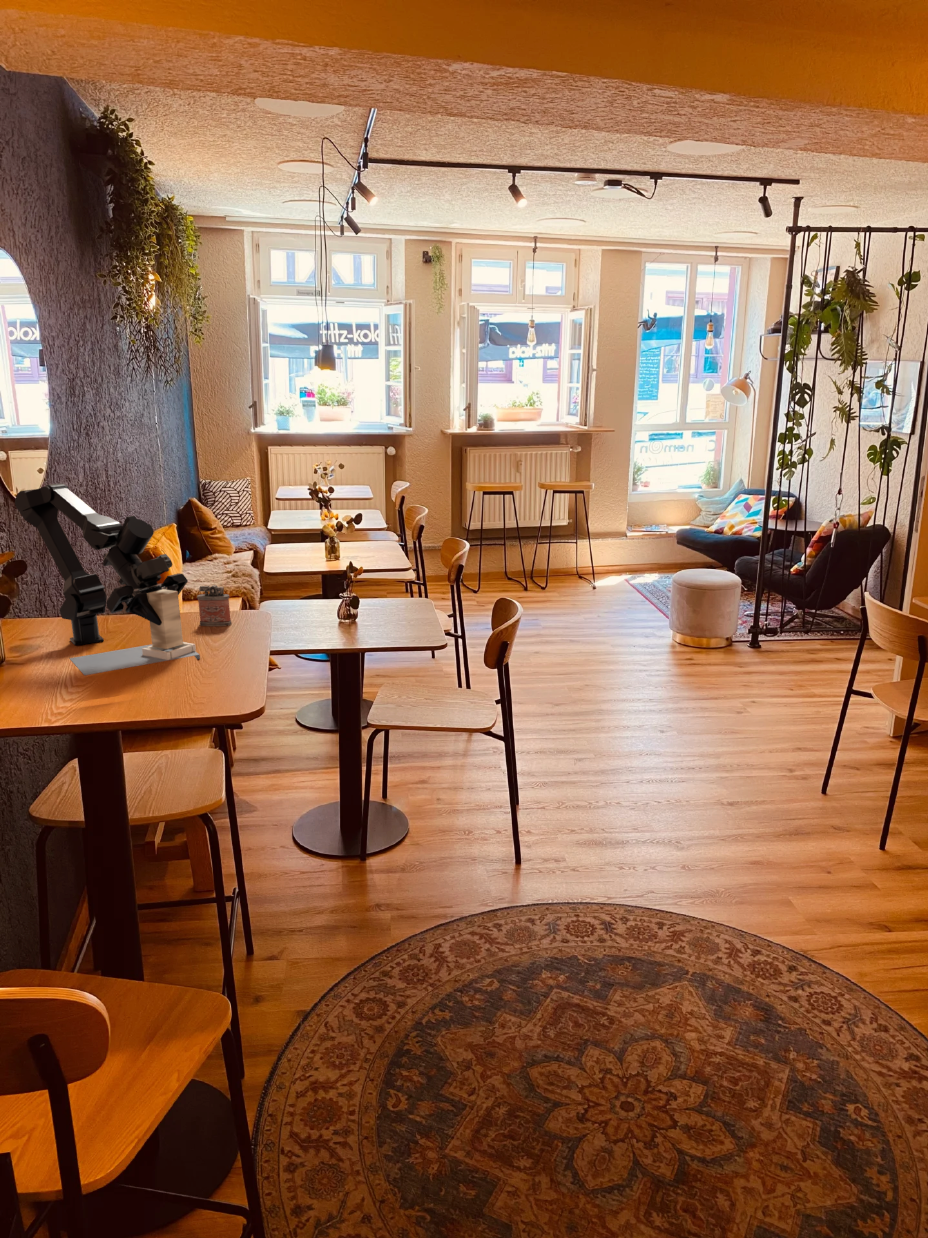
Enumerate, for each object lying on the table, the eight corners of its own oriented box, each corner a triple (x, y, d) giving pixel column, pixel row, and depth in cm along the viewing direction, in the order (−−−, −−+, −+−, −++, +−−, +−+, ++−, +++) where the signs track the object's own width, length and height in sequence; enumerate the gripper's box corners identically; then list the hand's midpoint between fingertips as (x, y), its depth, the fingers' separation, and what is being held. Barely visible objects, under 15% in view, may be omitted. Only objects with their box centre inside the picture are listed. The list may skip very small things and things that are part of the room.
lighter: (233, 622, 229) (230, 584, 226) (228, 626, 226) (225, 587, 223) (202, 622, 230) (199, 584, 227) (197, 626, 226) (193, 587, 224)
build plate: (70, 662, 198) (69, 658, 197) (179, 643, 211) (178, 639, 210) (85, 679, 186) (84, 675, 185) (200, 658, 199) (199, 654, 198)
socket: (142, 655, 199) (141, 648, 198) (171, 646, 205) (170, 639, 205) (167, 660, 195) (167, 653, 194) (195, 650, 201) (195, 644, 201)
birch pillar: (152, 646, 199) (146, 593, 196) (168, 641, 203) (163, 589, 200) (166, 649, 197) (161, 595, 194) (183, 644, 200) (177, 591, 197)
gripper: (108, 551, 188) (150, 608, 186) (177, 537, 204) (217, 590, 201) (88, 584, 194) (129, 640, 192) (157, 569, 210) (195, 620, 207)
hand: (169, 621), depth 198 cm, fingers closed on birch pillar, 5 cm apart
